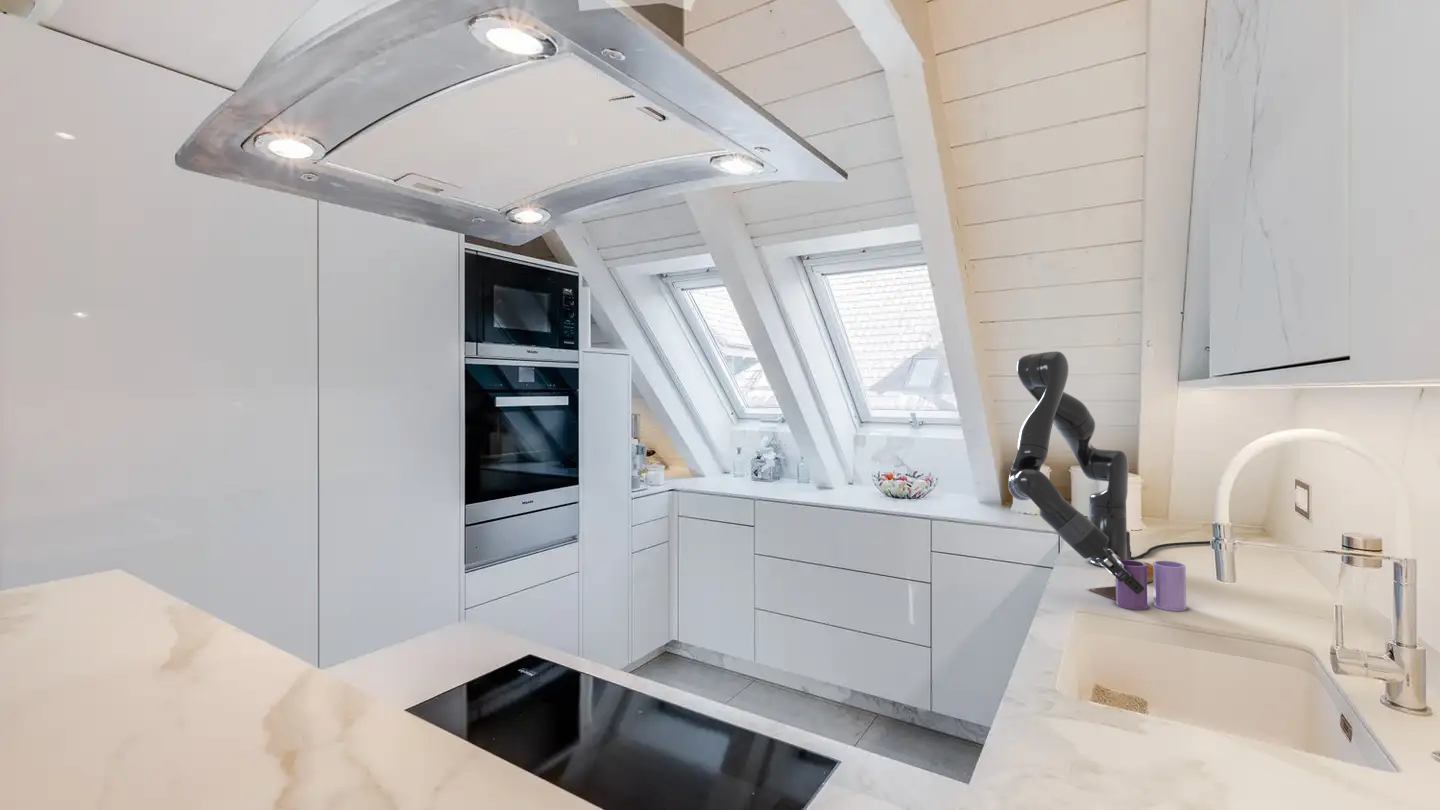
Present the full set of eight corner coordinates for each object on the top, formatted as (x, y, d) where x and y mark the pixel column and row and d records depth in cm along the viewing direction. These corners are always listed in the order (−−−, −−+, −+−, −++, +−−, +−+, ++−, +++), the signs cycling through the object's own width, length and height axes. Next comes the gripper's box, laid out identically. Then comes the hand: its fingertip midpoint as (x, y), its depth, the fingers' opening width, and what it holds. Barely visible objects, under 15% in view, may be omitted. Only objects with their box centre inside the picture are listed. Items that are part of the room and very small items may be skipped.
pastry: (1154, 585, 167) (1153, 571, 167) (1123, 581, 171) (1123, 567, 171) (1159, 577, 174) (1159, 563, 174) (1129, 573, 179) (1129, 559, 179)
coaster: (1116, 587, 166) (1116, 586, 166) (1142, 597, 158) (1142, 595, 158) (1089, 590, 165) (1089, 588, 165) (1114, 599, 157) (1114, 598, 157)
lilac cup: (1169, 601, 155) (1168, 559, 155) (1192, 609, 149) (1192, 566, 149) (1147, 603, 154) (1146, 561, 153) (1170, 612, 147) (1169, 568, 147)
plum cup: (1131, 600, 156) (1131, 559, 156) (1154, 608, 150) (1153, 565, 150) (1109, 602, 155) (1109, 560, 155) (1131, 611, 149) (1130, 567, 149)
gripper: (1096, 529, 149) (1157, 584, 144) (1090, 518, 162) (1145, 568, 157) (1071, 551, 151) (1129, 605, 147) (1066, 538, 164) (1120, 588, 160)
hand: (1137, 586), depth 152 cm, fingers open, 8 cm apart
